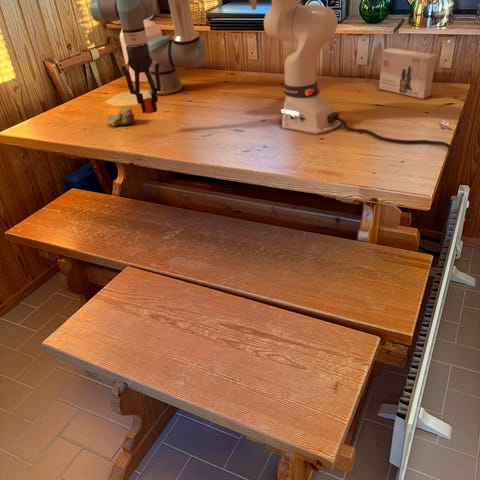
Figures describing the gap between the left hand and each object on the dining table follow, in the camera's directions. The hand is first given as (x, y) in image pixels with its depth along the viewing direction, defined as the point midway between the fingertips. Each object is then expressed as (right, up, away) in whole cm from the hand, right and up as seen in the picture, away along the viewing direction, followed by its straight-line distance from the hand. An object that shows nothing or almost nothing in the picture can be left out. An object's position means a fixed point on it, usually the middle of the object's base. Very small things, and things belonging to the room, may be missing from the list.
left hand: (149, 111), depth 170 cm
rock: (-15, 0, +17) cm, 22 cm away
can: (0, 0, 0) cm, 0 cm away
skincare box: (+100, +13, +19) cm, 103 cm away
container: (-15, +39, +73) cm, 84 cm away
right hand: (+39, +47, +17) cm, 63 cm away
